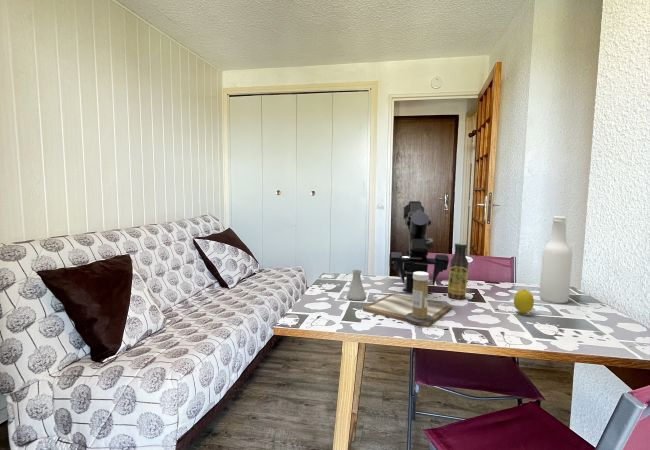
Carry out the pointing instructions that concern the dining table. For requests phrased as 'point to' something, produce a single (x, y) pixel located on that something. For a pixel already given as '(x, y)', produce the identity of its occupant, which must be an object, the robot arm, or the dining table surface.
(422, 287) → the sprinkles bottle
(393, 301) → the beige tray
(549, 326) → the dining table surface
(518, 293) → the lemon
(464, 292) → the sauce bottle
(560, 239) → the alcohol
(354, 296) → the flask
